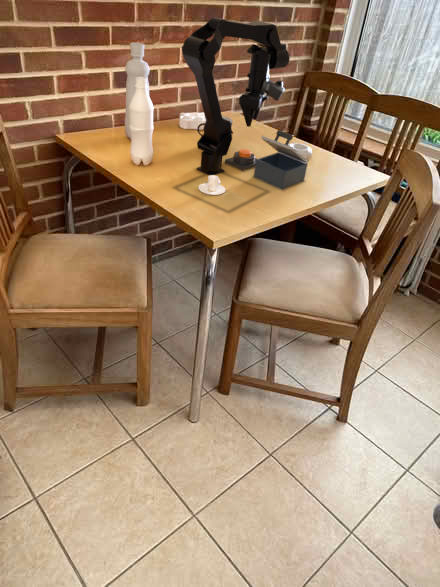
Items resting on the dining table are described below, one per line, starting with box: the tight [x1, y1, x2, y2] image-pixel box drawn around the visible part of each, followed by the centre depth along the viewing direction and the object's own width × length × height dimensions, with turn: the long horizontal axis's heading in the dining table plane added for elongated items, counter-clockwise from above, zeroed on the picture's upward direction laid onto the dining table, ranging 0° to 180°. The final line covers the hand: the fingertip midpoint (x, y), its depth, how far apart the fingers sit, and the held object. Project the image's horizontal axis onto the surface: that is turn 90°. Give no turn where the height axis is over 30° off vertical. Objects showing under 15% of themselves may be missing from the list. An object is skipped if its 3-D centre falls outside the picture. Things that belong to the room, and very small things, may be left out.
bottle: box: [124, 42, 151, 140], centre depth 153 cm, size 9×9×30 cm
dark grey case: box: [253, 151, 308, 191], centre depth 143 cm, size 12×12×6 cm
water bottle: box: [129, 77, 155, 166], centre depth 137 cm, size 7×7×25 cm
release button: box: [238, 148, 252, 158], centre depth 151 cm, size 4×4×2 cm
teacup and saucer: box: [198, 175, 226, 196], centre depth 133 cm, size 9×8×4 cm
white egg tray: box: [178, 111, 206, 131], centre depth 180 cm, size 3×18×15 cm
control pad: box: [224, 150, 257, 172], centre depth 152 cm, size 10×8×3 cm
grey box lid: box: [260, 129, 309, 164], centre depth 139 cm, size 12×12×4 cm
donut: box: [288, 142, 313, 160], centre depth 163 cm, size 10×4×10 cm
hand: (251, 122), depth 147 cm, fingers open, 9 cm apart
